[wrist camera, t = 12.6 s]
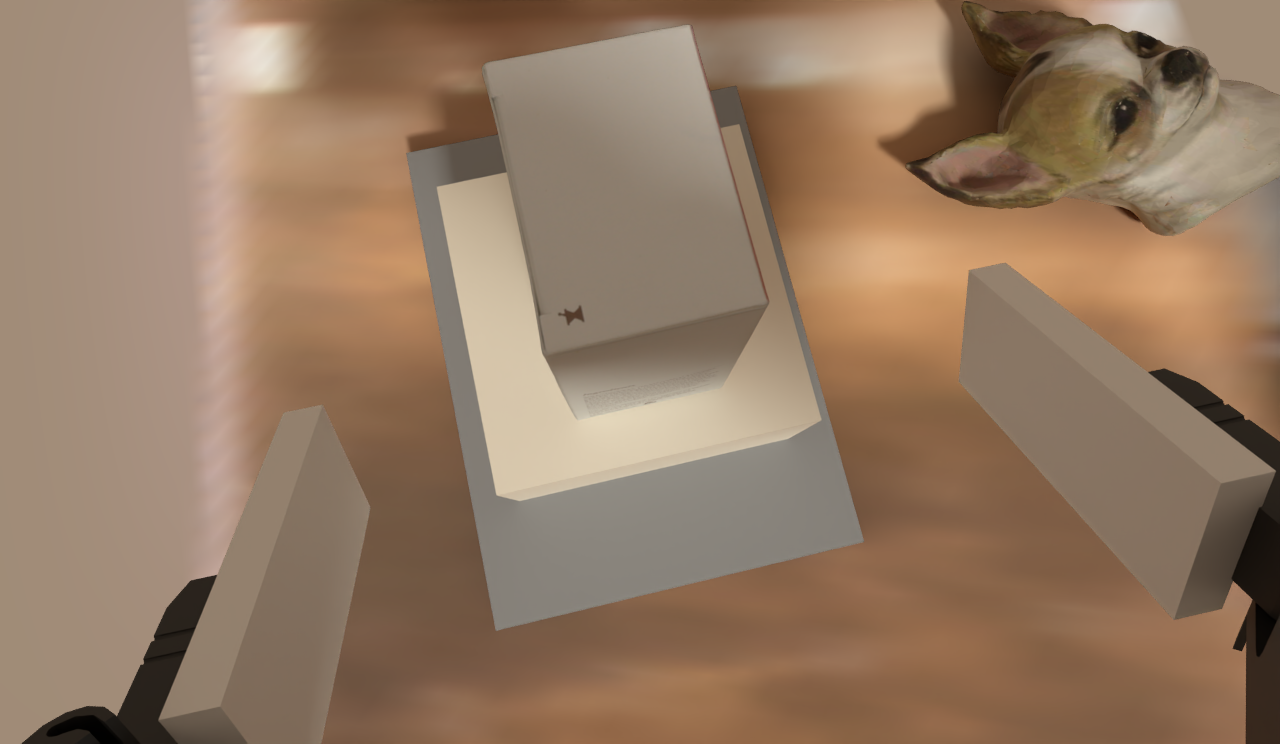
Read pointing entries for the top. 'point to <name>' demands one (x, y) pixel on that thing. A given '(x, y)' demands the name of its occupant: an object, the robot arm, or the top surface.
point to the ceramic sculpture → (1108, 124)
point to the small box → (627, 218)
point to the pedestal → (620, 419)
